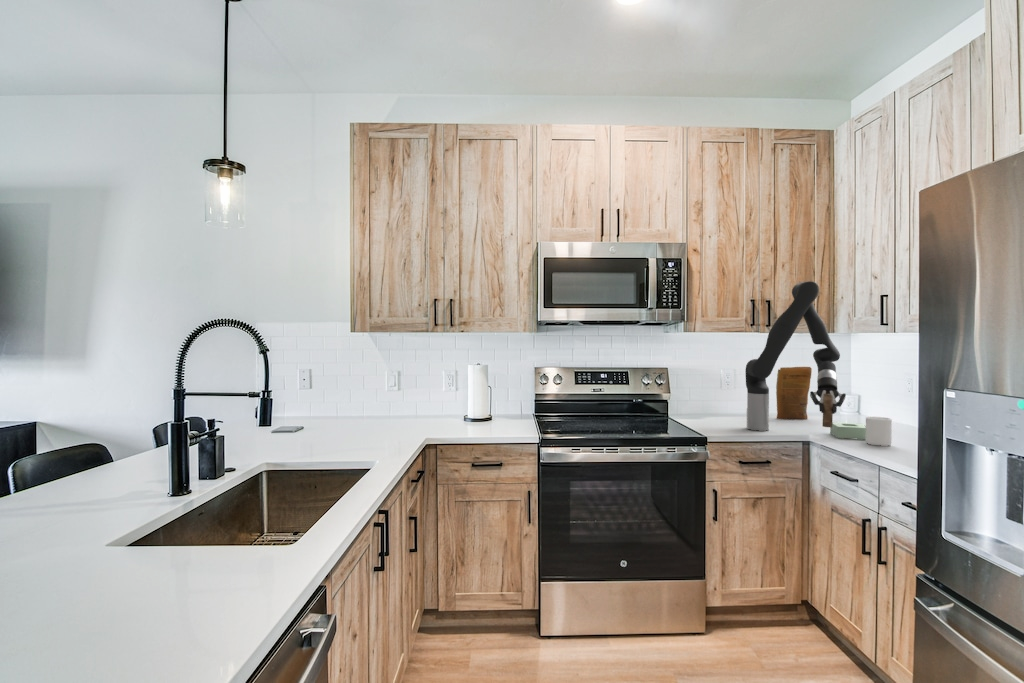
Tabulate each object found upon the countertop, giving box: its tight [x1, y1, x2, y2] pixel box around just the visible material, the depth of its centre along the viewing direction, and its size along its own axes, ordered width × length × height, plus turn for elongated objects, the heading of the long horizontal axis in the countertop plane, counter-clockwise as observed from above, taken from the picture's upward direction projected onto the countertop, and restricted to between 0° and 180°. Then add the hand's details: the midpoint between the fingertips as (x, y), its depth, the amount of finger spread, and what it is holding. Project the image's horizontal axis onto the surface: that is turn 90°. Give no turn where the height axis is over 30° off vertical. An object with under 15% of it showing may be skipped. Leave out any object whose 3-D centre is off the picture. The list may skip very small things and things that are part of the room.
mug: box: [865, 416, 893, 447], centre depth 212 cm, size 9×12×11 cm
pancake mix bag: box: [775, 366, 812, 420], centre depth 275 cm, size 7×19×28 cm, turn 88°
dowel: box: [821, 394, 834, 428], centre depth 222 cm, size 4×4×14 cm
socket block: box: [829, 421, 866, 440], centre depth 227 cm, size 12×12×5 cm
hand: (828, 412), depth 221 cm, fingers closed on dowel, 3 cm apart
